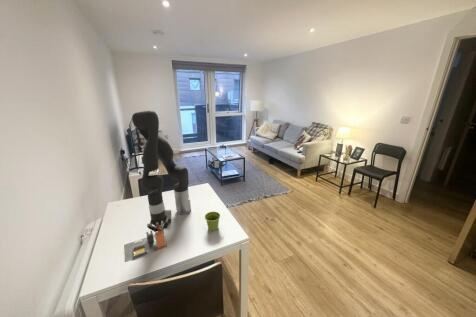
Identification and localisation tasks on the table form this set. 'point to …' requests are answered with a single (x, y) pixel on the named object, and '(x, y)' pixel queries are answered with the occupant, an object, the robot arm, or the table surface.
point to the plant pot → (212, 220)
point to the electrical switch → (168, 214)
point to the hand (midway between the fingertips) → (161, 235)
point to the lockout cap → (160, 239)
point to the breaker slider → (150, 236)
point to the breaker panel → (140, 248)
